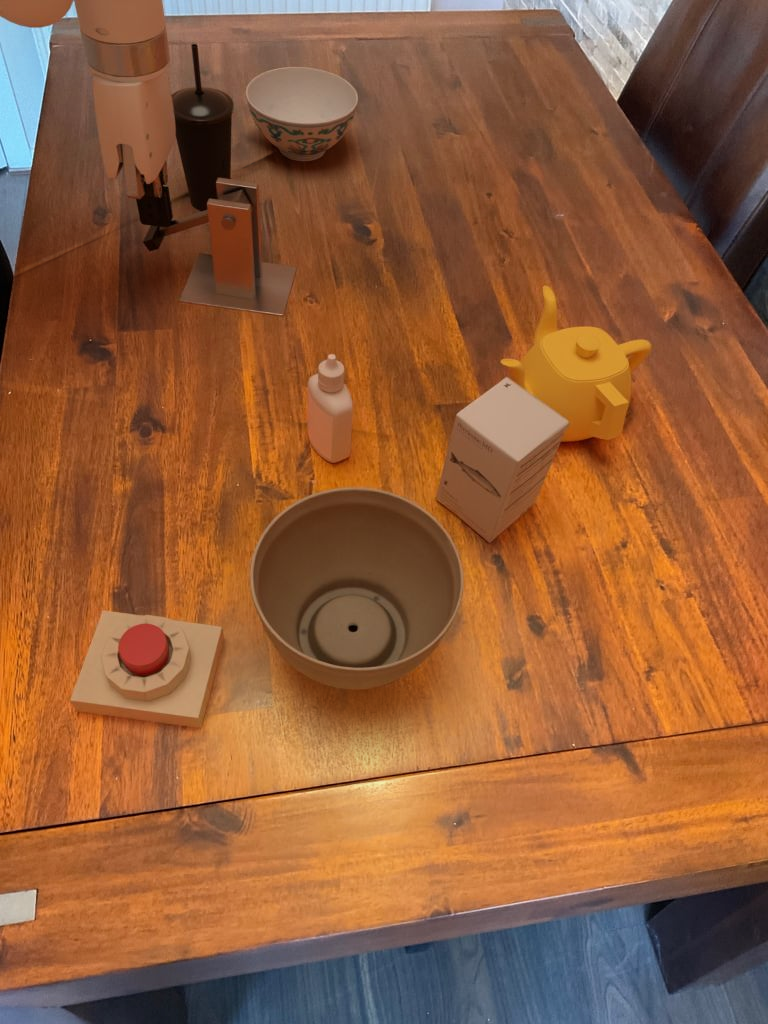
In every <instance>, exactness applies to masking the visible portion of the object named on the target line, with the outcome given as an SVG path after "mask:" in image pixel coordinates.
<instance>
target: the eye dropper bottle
mask: <svg viewBox="0 0 768 1024" xmlns="http://www.w3.org/2000/svg"><path fill="white" fill-rule="evenodd" d="M345 369H346V368H345V366H344V364H343V363H342V362H341V361H339V360H338V359H337V356H336V355H335V354H334V353H330V354H328V356H327V359H325V360H323V361H321V362H320V363H319V365H318V368H317V373H315V374H312V375H311V376H310V377H309V378H308V381H307V389H306V390H307V392H306V393H307V397H306V432H307V437H308V441H309V442H310V445H311V447H312V448H313V449H314V451H315V452H316V454H318V455H319V456H320V457H321V458H322V459H324V460H325V461H326V462H329V463H332V464H336V463H338V462H340V461H343V460H345V459H347V458H349V457H350V456H351V449H352V448H351V447H352V434H353V421H354V403H353V398H352V395H351V392H350V390H349V389H348V387H347V385H346V384H345Z"/></svg>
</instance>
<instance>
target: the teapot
mask: <svg viewBox="0 0 768 1024" xmlns="http://www.w3.org/2000/svg"><path fill="white" fill-rule="evenodd" d="M542 299H543V308H542V312H541V315H540V318H539V320H538V323H537V326H536V328H535V331H534V334H533V338H532V347H531V348H530V349H529V350H528V351H527V352H526V353H525V354H524V355H523V356H522V357H521V359H520V360H518V359H514V358H503V359H501V360H500V364H501V365H502V366H504V367H506V368H508V369H509V370H510V374H509V376H508V378H510V379H511V380H512V381H513V382H515V383H516V384H518V385H519V386H520V387H522V388H523V389H524V390H526V391H527V392H529V393H530V394H532V395H533V396H535V397H536V398H538V399H539V400H540V401H541V402H543V403H544V404H546V405H547V406H548V407H550V408H551V409H553V410H554V411H555V412H557V413H558V414H560V415H561V416H562V417H564V418H565V419H567V420H568V421H569V425H568V427H567V429H566V431H565V433H564V435H563V437H562V440H561V442H560V443H562V442H563V443H564V442H566V443H567V442H578V441H583V440H587V439H591V438H597V439H601V440H604V441H610V440H613V439H617V438H620V437H622V433H623V429H624V425H625V421H626V416H627V412H628V410H629V407H630V403H631V398H632V389H633V387H632V373H633V372H634V371H636V369H638V368H639V366H641V365H642V364H643V363H644V361H645V360H646V359H647V358H648V356H649V355H650V353H651V351H652V344H651V342H650V341H649V340H647V339H643V338H642V339H641V338H640V339H639V338H638V339H634V340H630V341H626V342H623V343H620V344H618V343H617V342H616V341H615V340H614V338H612V337H611V335H610V334H609V333H607V332H606V331H605V330H604V329H602V328H600V327H595V326H588V325H587V326H586V325H585V326H572V327H566V328H563V329H559V327H558V306H557V305H558V304H557V299H556V295H555V293H554V291H553V289H552V288H551V287H550V286H548V285H543V287H542ZM627 356H628V357H627Z"/></svg>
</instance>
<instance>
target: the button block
mask: <svg viewBox="0 0 768 1024" xmlns="http://www.w3.org/2000/svg"><path fill="white" fill-rule="evenodd" d="M101 611H102V612H101V614H100V617H99V620H98V622H97V624H96V627H95V629H94V633H93V636H92V639H91V642H90V644H89V646H88V649H87V652H86V655H85V658H84V659H83V660H84V661H83V663H82V666H81V668H80V672H79V674H78V677H77V680H76V682H75V685H74V688H73V691H72V693H71V696H70V699H69V701H70V703H71V705H72V706H73V708H74V710H75V712H80V713H85V714H93V715H100V716H102V715H103V716H109V717H115V718H121V719H122V718H123V719H129V720H137V721H145V722H152V723H159V724H165V725H173V726H181V727H188V728H196V729H202V727H203V723H204V719H205V715H206V711H207V708H208V703H209V699H210V695H211V691H212V688H213V684H214V680H215V675H216V672H217V668H218V664H219V660H220V657H221V653H222V649H223V645H224V641H225V635H224V631H223V626H219V625H214V624H213V625H212V624H205V623H198V622H192V621H183V620H176V619H170V618H169V617H165V616H160V615H152V614H144V615H143V614H142V615H140V614H134V613H127V612H126V613H125V612H120V611H119V612H118V611H113V610H106V609H105V610H104V609H103V610H101ZM139 624H152V625H155V626H157V627H159V628H160V629H161V630H162V631H163V632H164V634H165V636H166V639H167V642H168V646H169V657H168V660H167V662H166V663H165V665H164V666H163V667H162V668H161V669H160V670H158V671H157V672H155V673H152V674H149V675H137V674H134V673H132V672H130V671H129V670H128V669H127V668H126V667H125V666H124V664H123V661H122V659H121V656H120V654H119V650H118V646H119V641H120V639H121V637H122V635H123V634H124V633H125V632H126V631H127V630H128V629H130V628H131V627H133V626H136V625H139Z"/></svg>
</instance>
